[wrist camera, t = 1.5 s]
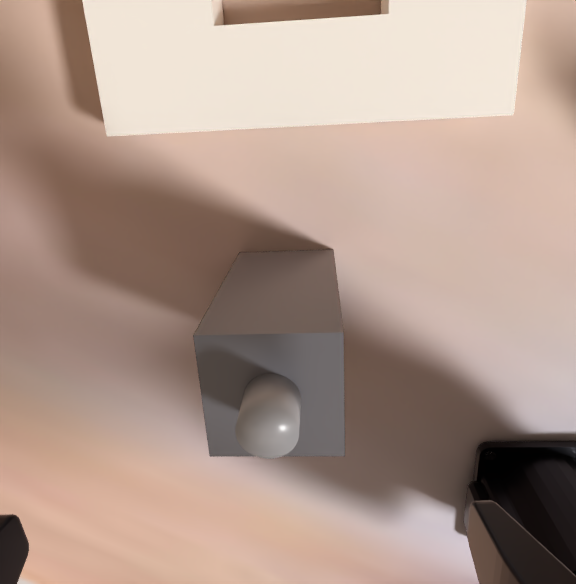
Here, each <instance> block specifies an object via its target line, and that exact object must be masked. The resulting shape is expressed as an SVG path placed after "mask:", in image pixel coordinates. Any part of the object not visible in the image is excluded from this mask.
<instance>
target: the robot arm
mask: <svg viewBox="0 0 576 584" xmlns="http://www.w3.org/2000/svg"><path fill="white" fill-rule="evenodd" d="M487 452H492V453H490V454H487V455H486V453H487ZM464 524H465V527H466V530H467V538H468V542H469V547H470V550H471V554H472V558H473V562H474V565H475V569H476V573H477V577H478V580H479V584H576V441H544V442H484V443H482V444H480V445H479V446H478V448H477V452H476V461H475V470H474V478H473V481H471V482H470V483H469V485H468V487H467V496H466V505H465V514H464ZM28 551H29V543H28V540H27V537H26V535H25V532H24V530H23V527H22V524H21V522H20V519H19V518H18V517H17V516H16V515H13V514H12V515H0V584H17V582H18V579H19V577H20V574H21V572H22V569H23V567H24V564H25V561H26V559H27V556H28Z"/></svg>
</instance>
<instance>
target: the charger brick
mask: <svg viewBox="0 0 576 584" xmlns="http://www.w3.org/2000/svg"><path fill="white" fill-rule="evenodd" d="M193 337H194V344H195V352H196V359H197V366H198V374H199V381H200V388H201V396H202V403H203V410H204V418H205V425H206V432H207V440H208V447H209V454H210V456H257V457H260V458H267V459H271V458H278V457H281V456H345V420H344V331H343V323H342V315H341V307H340V299H339V291H338V283H337V275H336V267H335V259H334V251H333V249H329V250H299V251H269V252H239V254H238V256H237V258H236V260H235V261H234V263H233V265H232V267H231V269H230V270H229V272H228V274H227V276H226V278H225V279H224V281H223V283H222V285H221V287H220V288H219V290H218V292H217V294H216V296H215V297H214V299H213V301H212V303H211V305H210V306H209V308H208V310H207V312H206V314H205V315H204V317H203V319H202V321H201V323H200V324H199V326H198V328H197V330H196V332H195V333H194V335H193Z"/></svg>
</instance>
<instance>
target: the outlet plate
mask: <svg viewBox="0 0 576 584" xmlns="http://www.w3.org/2000/svg"><path fill="white" fill-rule="evenodd" d="M82 2H83V7H84V13H85V18H86V24H87V29H88V35H89V41H90V46H91V52H92V57H93V63H94V68H95V74H96V80H97V85H98V91H99V96H100V102H101V107H102V113H103V119H104V124H105V130H106V135H107V136H125V135H144V134H163V133H182V132H201V131H220V130H239V129H258V128H277V127H296V126H315V125H334V124H353V123H372V122H391V121H410V120H429V119H448V118H467V117H486V116H505V115H514V107H515V99H516V90H517V81H518V72H519V63H520V55H521V46H522V37H523V28H524V19H525V11H526V2H527V0H381V14H380V15H366V16H351V17H337V18H322V19H308V20H293V21H278V22H264V23H249V24H235V25H224V19H223V7H222V0H82Z"/></svg>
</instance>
